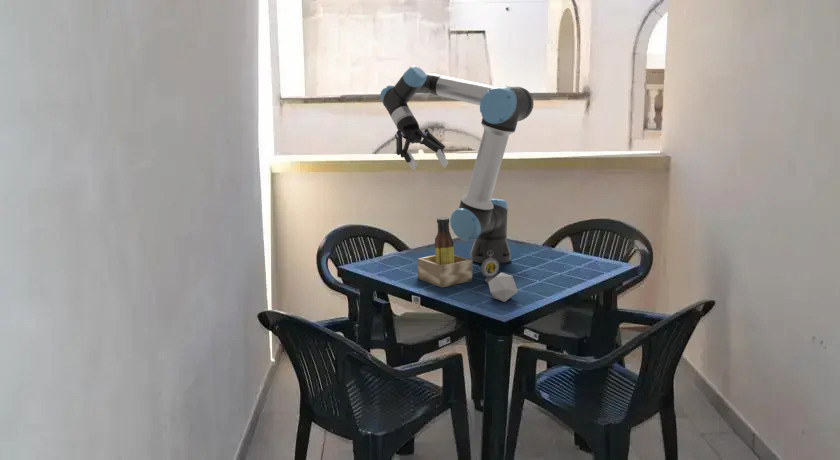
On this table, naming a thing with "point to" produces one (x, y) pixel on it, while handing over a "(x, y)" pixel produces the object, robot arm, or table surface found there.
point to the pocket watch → (490, 268)
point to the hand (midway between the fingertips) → (431, 167)
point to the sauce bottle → (444, 243)
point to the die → (502, 287)
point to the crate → (444, 271)
